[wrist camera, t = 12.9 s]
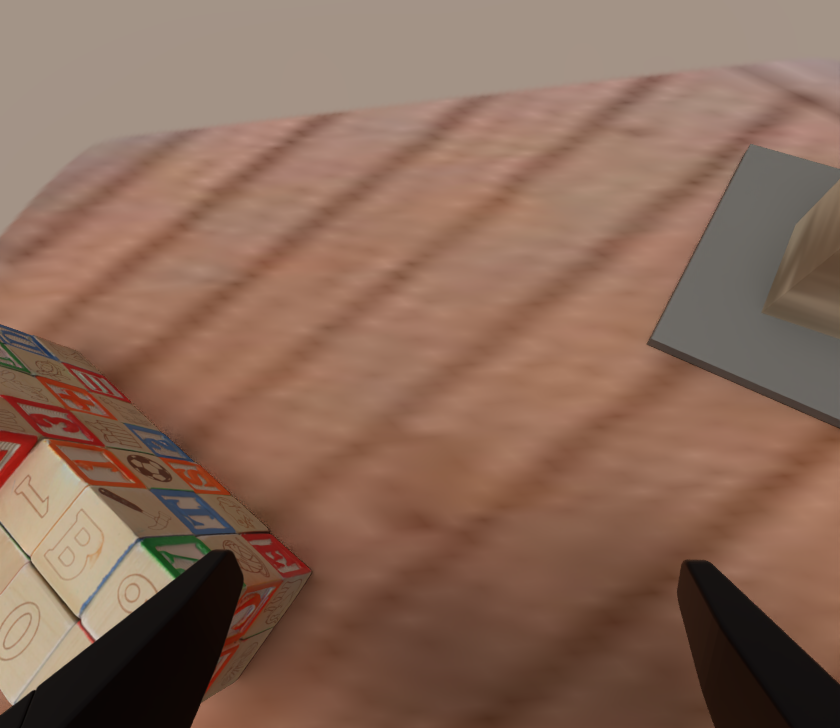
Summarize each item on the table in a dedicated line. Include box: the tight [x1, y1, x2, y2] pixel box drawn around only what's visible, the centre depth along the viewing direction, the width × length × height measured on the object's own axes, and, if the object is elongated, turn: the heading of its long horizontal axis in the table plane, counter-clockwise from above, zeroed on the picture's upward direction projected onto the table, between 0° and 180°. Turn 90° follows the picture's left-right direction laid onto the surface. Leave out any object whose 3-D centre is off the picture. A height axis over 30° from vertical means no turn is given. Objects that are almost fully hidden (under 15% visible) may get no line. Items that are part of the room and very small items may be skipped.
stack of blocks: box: [0, 324, 311, 705], centre depth 20 cm, size 21×6×12 cm, turn 54°
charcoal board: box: [647, 144, 840, 428], centre depth 22 cm, size 12×12×1 cm
